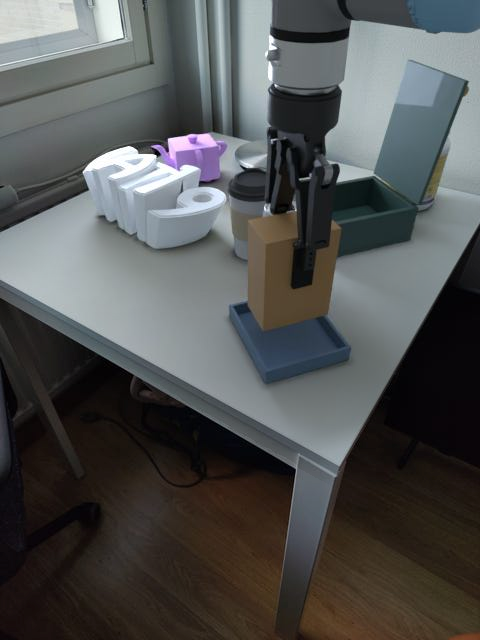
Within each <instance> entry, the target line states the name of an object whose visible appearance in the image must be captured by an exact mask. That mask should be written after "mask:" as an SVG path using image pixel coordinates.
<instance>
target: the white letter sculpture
mask: <svg viewBox="0 0 480 640" xmlns="http://www.w3.org/2000/svg"><path fill="white" fill-rule="evenodd" d="M200 174H201V170H200V169H199V168H197V167H194V166H190V165H184V166H181V168H180V172H179V171H177V170H175V169H173V168H172V167H170V166H167V165H166V163H162V162H160V161H157V155H155V154H150V153H141V154H139V151H138V150H137V149H136V148H134V147H132V146H125V147H121V148H118V149H115V150H112V151H109V152H106V153H105V154H102V155H101V156H99V157H96V159H93V161H92V162H90V163H89V164H88V165H87V166H86V167H85V168H84V170H83V171H82V175H83V177H84V179H85V182H86V184H87V185H86V186H87V188H88V191H89V193H90V196H91V198H92V201H93V203H94V207H95V209H96V212H97V215H98V216H105V219H106V221H108V222H112V223H113V222H114V221H117V225H118V228H120V229H121V230H124V232H126V233H127V234H129V235H131V236H132V235H134V234H137V235H136V237H137V239H138V240H139V241H141V242H143V243H146V245H148V246H149V247H150V248H153V249H155V250H159V249H161V250H162V249H169V248H170V249H171V248H176V247H180V246H185V245H188V244H191V243H194V242H197V241H199V240H201V239H203V238H204V237H206V236H207V235H208V234H209V232H210V231H211V229H212V227H213V225H214V223H215V221H216V219H217V218H218V216H219V214H220V212H221V210H222V208H224V205H225V203H226V201H227V195H226V194H225V193H224V192H223V191H222V190H220V189H218V188H215V187H209V186H199V185H200V184H199V183H200V181H199V179H200Z"/></svg>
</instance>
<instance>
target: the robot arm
mask: <svg viewBox="0 0 480 640" xmlns="http://www.w3.org/2000/svg"><path fill="white" fill-rule="evenodd" d="M270 2H271V6H270V7H271V9H270V10H271V11H270V24H269V49H268V50H266V52H265V60H266V61H267V62H268V79H269V81H271V84H270V85H269V87H268V89H267V105H266V108H267V109H266V121H267V123H268V124H269V126H267V127H266V141H267V142H266V144H267V151H266V168H265V169H266V170H265V172H266V184H265V202H266V204H270V212H271V214H272V215H277V214H283V213H287V212H289V211H294V210H295V209H293V208H295V207H294V205H293V204H292V202H293V198H294V194H295V196H296V213H297V230H298V242H296V243H292V244H293V248H294V252H293V264H292V276H291V287H292V289H297V288H301V287H305V286H310V285H312V282H313V273H314V267H315V259H316V252H317V250H318V249H323V248H327V247H329V244H330V234H331V224H332V214H333V204H334V193H335V185H336V183H337V182H338V179H339V177H340V173H341V168H340V165H339V163H329V161H328V160H327V158H326V156H327V148H326V147H327V146H326V136H327V135H328V133H330V131H331V130H334V128H336V126H337V125H338V122H339V118H340V112H341V111H340V110H341V102H342V95H343V90H342V89H341V87H340V86H339V85H340V84H342V83H343V82H344V81H345V75H346V66H347V59H348V50H349V49H348V48H349V42H350V33H351V32H350V31H351V24H352V21H355V22H359V21H360V22H361V21H362V22H368V23H375V24H381V25H387V26H394V27H401V28H410V29H413V30H422V31H425V32H426V33H427V34H432V35H433V34H434V35H437V34H440V33H452V34H453V33H454V34H471V33H474V32H476V31H479V30H480V0H270ZM272 192H273V194H272Z"/></svg>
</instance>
